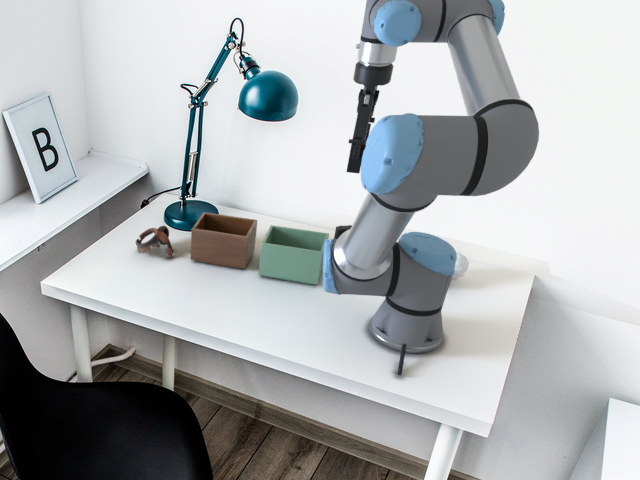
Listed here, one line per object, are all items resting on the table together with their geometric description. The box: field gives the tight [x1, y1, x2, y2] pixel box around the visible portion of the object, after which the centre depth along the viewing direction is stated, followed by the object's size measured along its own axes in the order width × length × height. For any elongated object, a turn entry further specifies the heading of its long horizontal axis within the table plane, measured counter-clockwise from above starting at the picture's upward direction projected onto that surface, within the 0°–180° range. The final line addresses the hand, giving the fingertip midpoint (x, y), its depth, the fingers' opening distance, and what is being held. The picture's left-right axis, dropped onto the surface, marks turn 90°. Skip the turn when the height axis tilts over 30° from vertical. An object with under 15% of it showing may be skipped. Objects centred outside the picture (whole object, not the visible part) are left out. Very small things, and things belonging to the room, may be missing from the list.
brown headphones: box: [135, 225, 174, 259], centre depth 180 cm, size 12×10×8 cm
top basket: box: [258, 224, 330, 286], centre depth 168 cm, size 11×15×10 cm
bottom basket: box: [190, 211, 258, 270], centre depth 175 cm, size 11×15×10 cm
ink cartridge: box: [333, 224, 353, 239], centre depth 176 cm, size 5×2×8 cm, turn 93°
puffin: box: [451, 251, 470, 280], centre depth 164 cm, size 7×7×12 cm
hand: (356, 161), depth 148 cm, fingers open, 13 cm apart
